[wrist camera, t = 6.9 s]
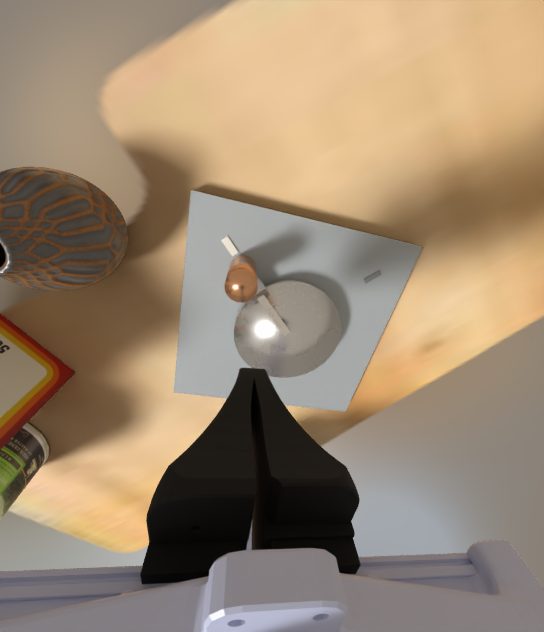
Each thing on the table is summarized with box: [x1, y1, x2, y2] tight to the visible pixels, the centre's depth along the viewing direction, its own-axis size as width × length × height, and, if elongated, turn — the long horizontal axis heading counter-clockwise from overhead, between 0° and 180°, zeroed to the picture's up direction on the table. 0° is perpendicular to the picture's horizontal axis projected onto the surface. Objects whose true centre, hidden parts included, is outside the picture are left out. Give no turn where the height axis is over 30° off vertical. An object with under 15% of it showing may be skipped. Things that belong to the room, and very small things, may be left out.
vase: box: [0, 167, 128, 291], centre depth 15 cm, size 7×7×9 cm
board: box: [174, 190, 423, 412], centre depth 23 cm, size 18×18×1 cm
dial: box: [224, 255, 342, 378], centre depth 19 cm, size 12×9×4 cm
